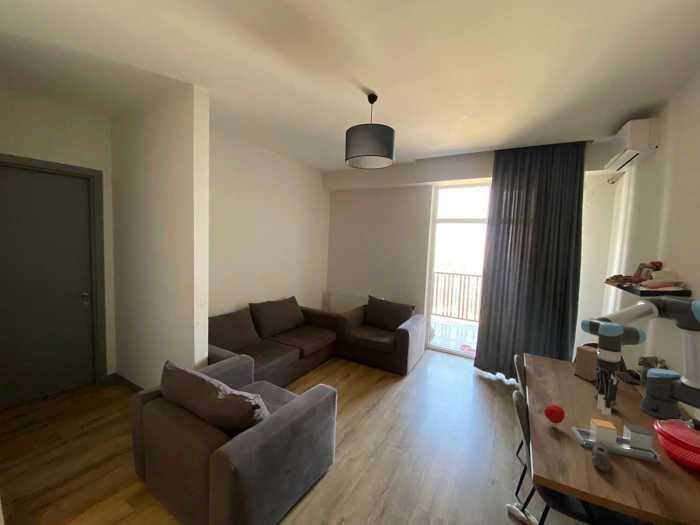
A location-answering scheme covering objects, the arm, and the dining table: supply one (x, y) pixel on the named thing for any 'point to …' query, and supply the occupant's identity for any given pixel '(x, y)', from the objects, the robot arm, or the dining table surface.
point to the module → (603, 431)
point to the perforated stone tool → (600, 457)
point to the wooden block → (586, 362)
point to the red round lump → (554, 414)
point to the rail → (624, 442)
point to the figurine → (612, 401)
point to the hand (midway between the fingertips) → (603, 411)
